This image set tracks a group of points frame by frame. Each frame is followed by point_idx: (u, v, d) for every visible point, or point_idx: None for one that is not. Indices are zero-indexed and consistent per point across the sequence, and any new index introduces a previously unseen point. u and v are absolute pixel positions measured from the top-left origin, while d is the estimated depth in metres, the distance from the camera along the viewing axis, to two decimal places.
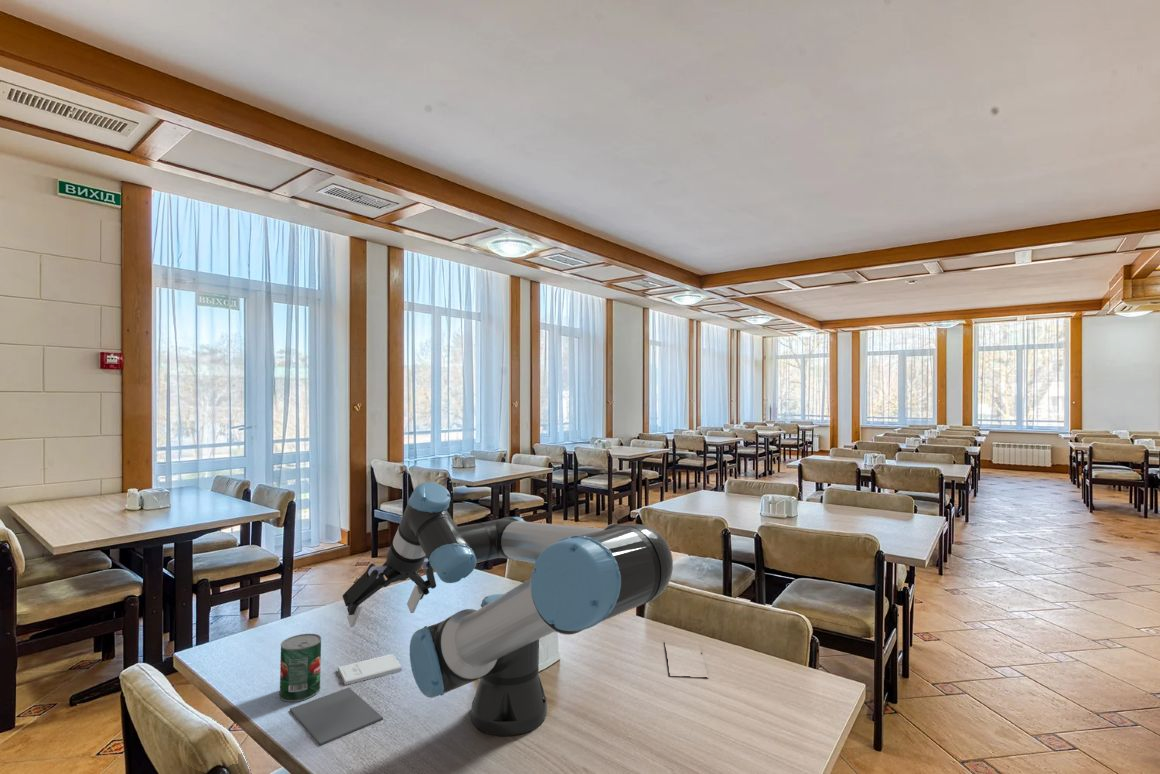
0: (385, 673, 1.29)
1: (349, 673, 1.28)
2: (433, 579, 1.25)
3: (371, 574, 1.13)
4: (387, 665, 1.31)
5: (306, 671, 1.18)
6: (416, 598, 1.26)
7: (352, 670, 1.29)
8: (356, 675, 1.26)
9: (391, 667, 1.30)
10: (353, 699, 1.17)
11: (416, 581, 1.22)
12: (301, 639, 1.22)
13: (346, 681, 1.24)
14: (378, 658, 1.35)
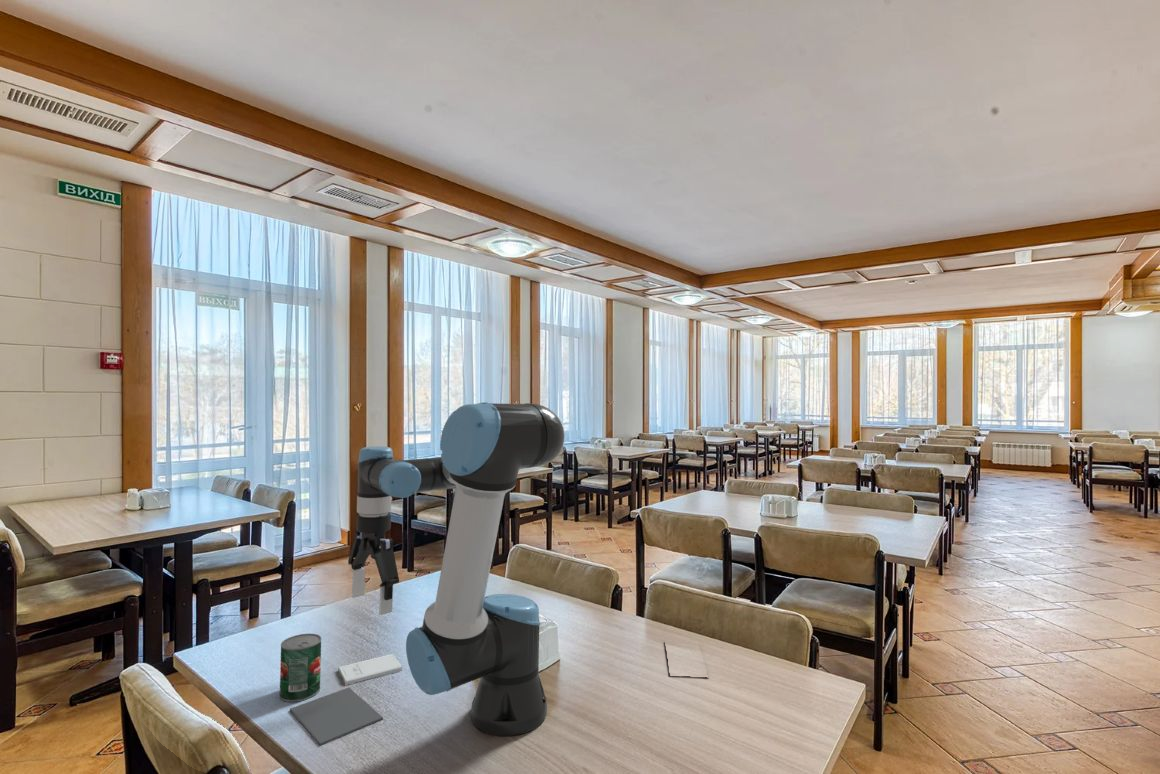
0: (385, 673, 1.29)
1: (349, 673, 1.28)
2: (385, 569, 1.24)
3: None
4: (387, 665, 1.31)
5: (306, 671, 1.18)
6: None
7: (352, 670, 1.29)
8: (357, 675, 1.26)
9: (392, 667, 1.30)
10: (353, 699, 1.17)
11: (376, 562, 1.27)
12: (301, 639, 1.22)
13: (346, 681, 1.24)
14: (378, 658, 1.35)
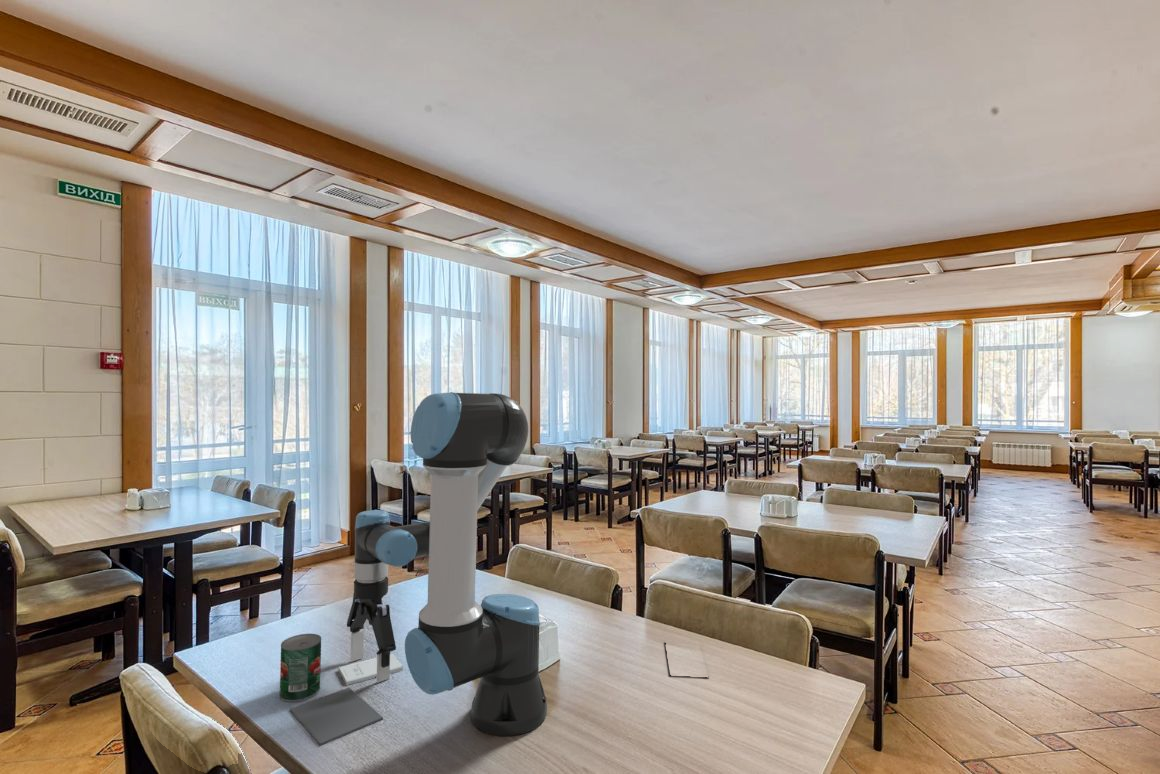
0: None
1: (350, 673, 1.27)
2: (382, 636, 1.24)
3: None
4: None
5: (306, 671, 1.18)
6: None
7: (353, 670, 1.29)
8: (358, 676, 1.26)
9: (392, 667, 1.30)
10: (353, 699, 1.17)
11: (373, 629, 1.27)
12: (301, 639, 1.22)
13: (347, 681, 1.24)
14: None
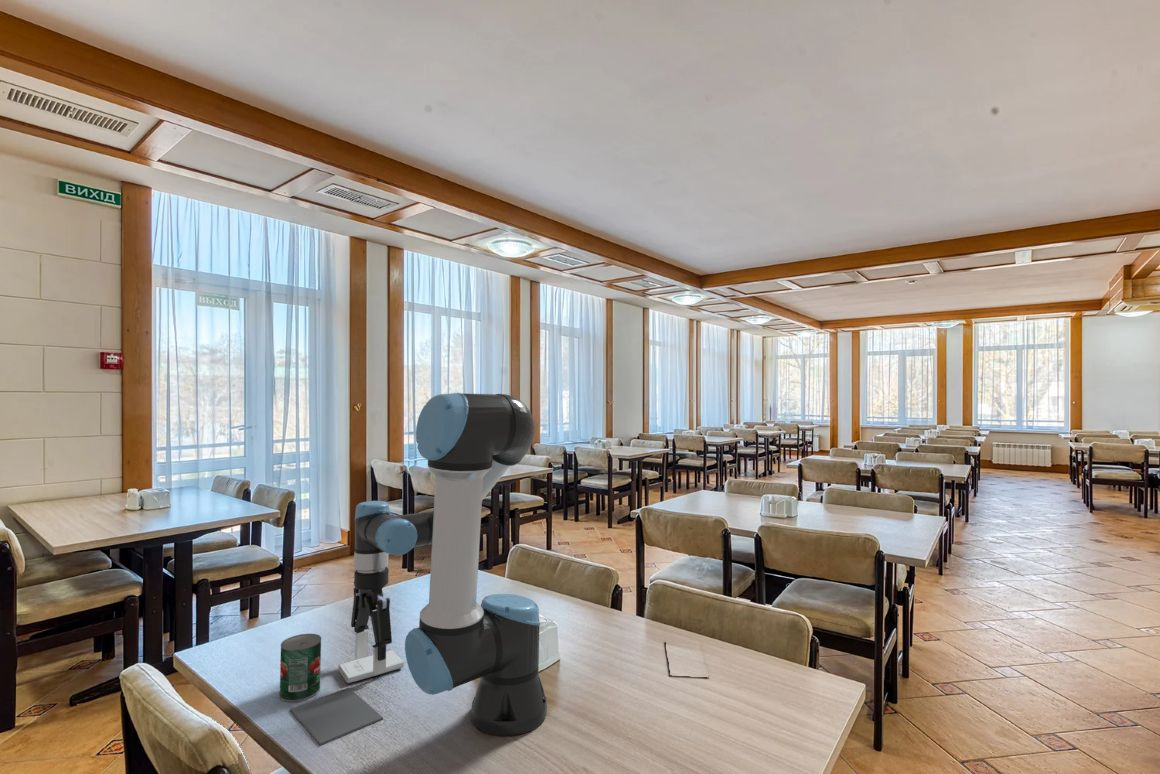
0: (387, 668, 1.29)
1: (351, 669, 1.27)
2: (380, 630, 1.25)
3: None
4: (388, 661, 1.32)
5: (306, 671, 1.18)
6: None
7: (353, 666, 1.29)
8: (359, 672, 1.26)
9: (393, 663, 1.31)
10: (353, 699, 1.17)
11: (372, 620, 1.28)
12: (301, 639, 1.22)
13: (349, 677, 1.24)
14: None
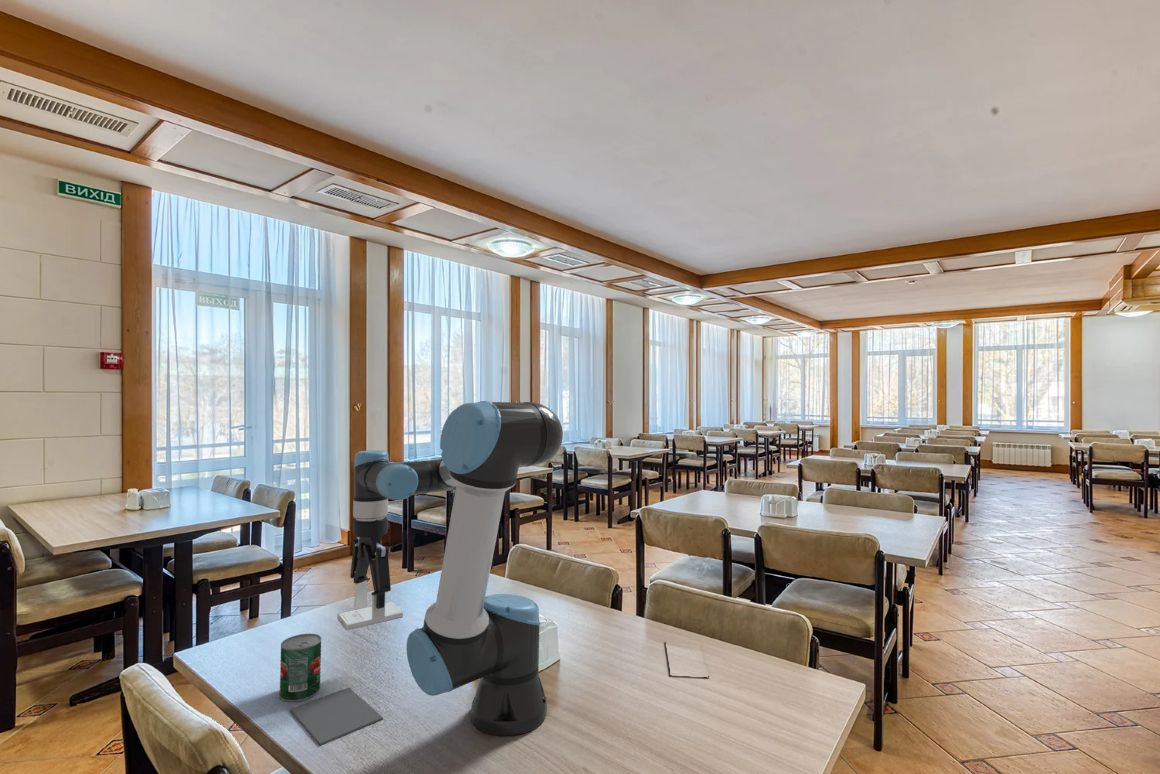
0: (386, 618, 1.28)
1: (349, 618, 1.26)
2: (378, 577, 1.24)
3: None
4: (387, 611, 1.30)
5: (306, 671, 1.18)
6: None
7: (352, 615, 1.28)
8: (358, 620, 1.25)
9: (392, 612, 1.29)
10: (353, 699, 1.17)
11: (371, 569, 1.27)
12: (301, 639, 1.22)
13: (347, 624, 1.23)
14: None
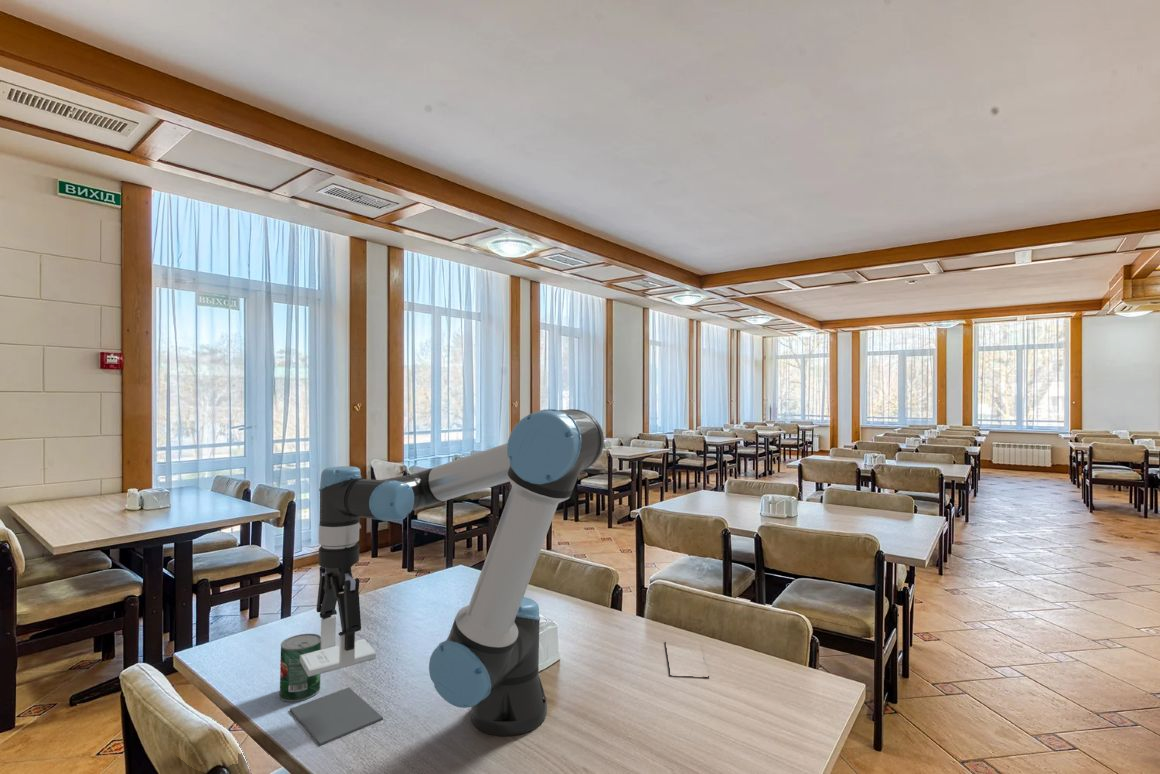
0: (356, 660, 1.11)
1: (313, 661, 1.09)
2: (347, 615, 1.07)
3: None
4: (358, 651, 1.14)
5: None
6: None
7: (317, 657, 1.11)
8: (322, 663, 1.08)
9: (364, 653, 1.12)
10: (353, 699, 1.17)
11: (338, 604, 1.10)
12: (301, 639, 1.22)
13: (310, 670, 1.06)
14: None
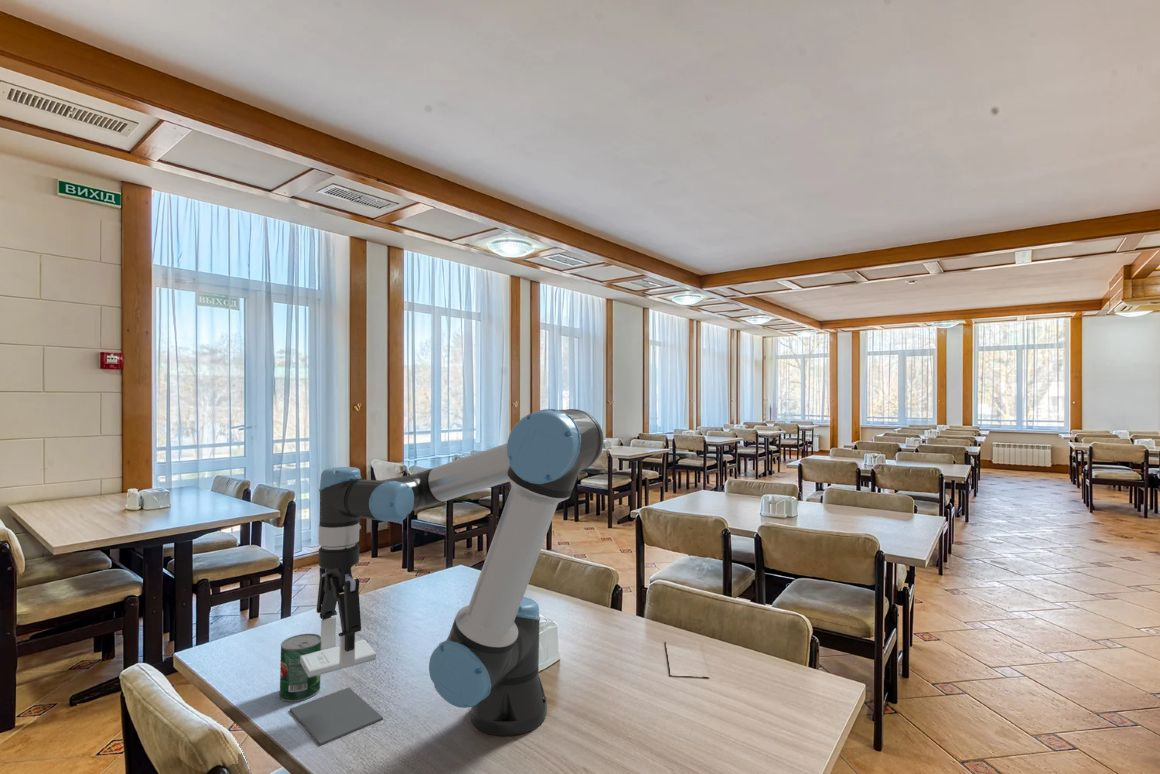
0: (356, 661, 1.11)
1: (313, 661, 1.09)
2: (347, 615, 1.07)
3: None
4: (358, 652, 1.13)
5: None
6: None
7: (317, 658, 1.11)
8: (323, 664, 1.08)
9: (364, 654, 1.12)
10: (353, 699, 1.17)
11: (338, 604, 1.10)
12: (301, 639, 1.22)
13: (310, 671, 1.06)
14: None
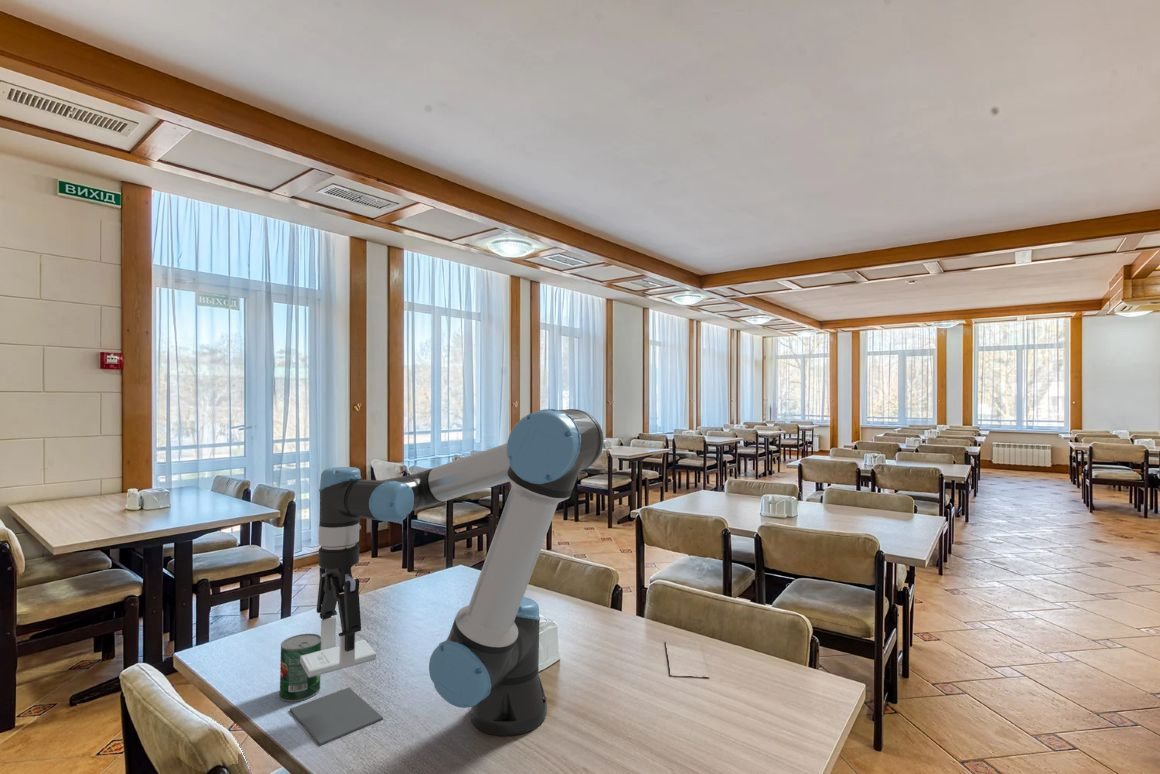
0: (356, 661, 1.11)
1: (313, 661, 1.09)
2: (347, 615, 1.07)
3: None
4: (358, 652, 1.13)
5: None
6: None
7: (317, 658, 1.11)
8: (323, 664, 1.08)
9: (364, 654, 1.12)
10: (353, 699, 1.17)
11: (338, 604, 1.10)
12: (301, 639, 1.22)
13: (310, 671, 1.06)
14: None
